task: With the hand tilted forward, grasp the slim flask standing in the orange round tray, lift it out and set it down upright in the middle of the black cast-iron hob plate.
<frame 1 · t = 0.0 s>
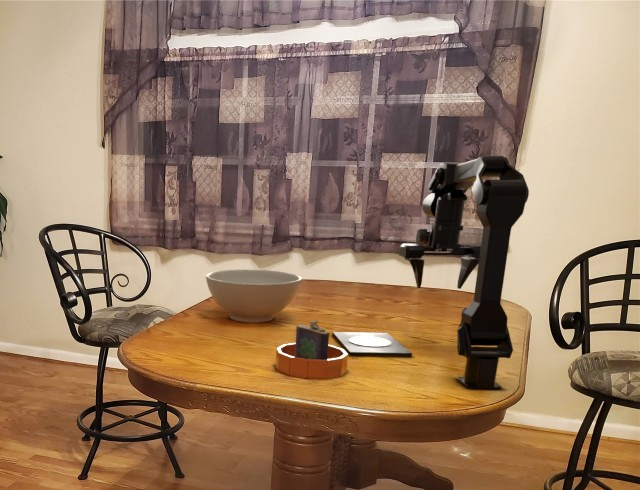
hand: (438, 288, 161), 15 cm above the counter, tool pointing down, fingers open, 9 cm apart
decorative bowl: (250, 318, 199), on the counter
hob plate: (369, 345, 168), on the counter
orange round tray: (310, 368, 150), on the counter
flask: (310, 369, 150), resting in orange round tray
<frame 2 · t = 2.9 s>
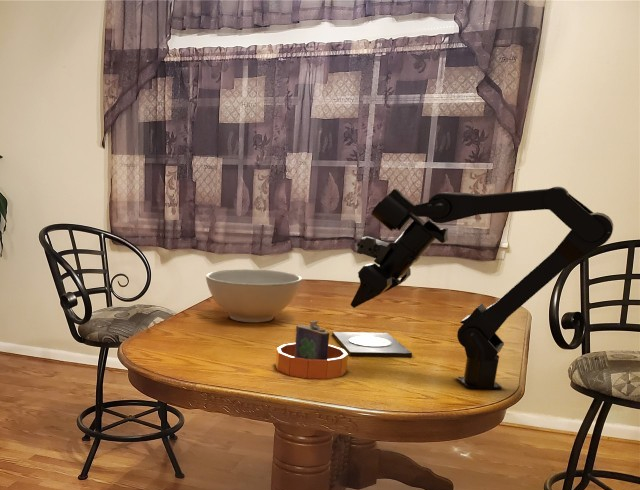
hand: (359, 302, 149), 14 cm above the counter, tool tilted 35°, fingers open, 9 cm apart
nothing on the counter moved.
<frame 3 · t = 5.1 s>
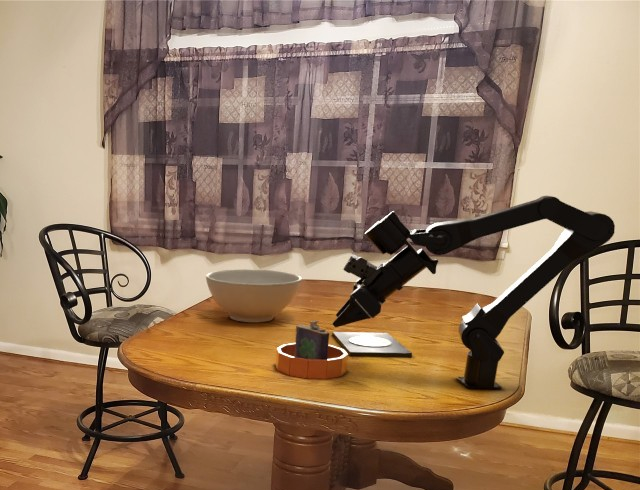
hand: (335, 321, 145), 11 cm above the counter, tool tilted 45°, fingers open, 9 cm apart
nothing on the counter moved.
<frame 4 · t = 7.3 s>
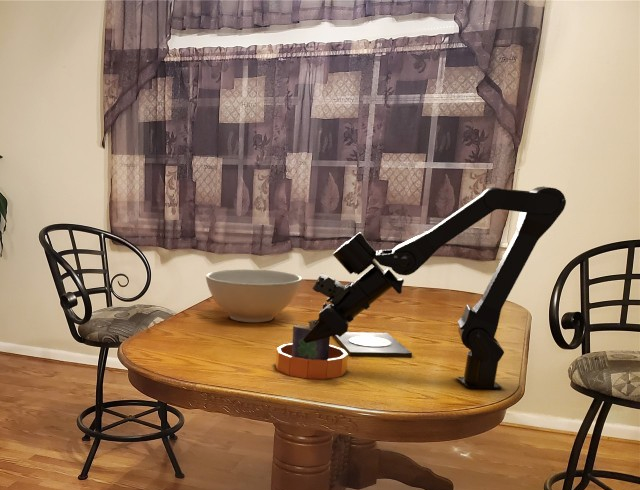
hand: (305, 338, 148), 7 cm above the counter, tool tilted 45°, fingers closed on flask, 5 cm apart
flask: (309, 368, 150), resting in orange round tray, touching gripper
everything else where it was.
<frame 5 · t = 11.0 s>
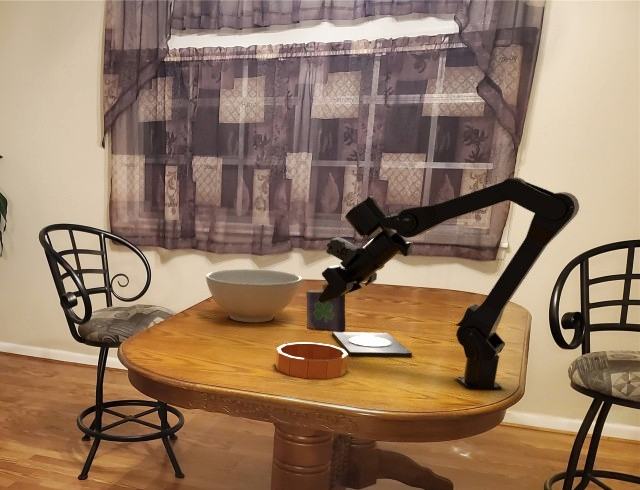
hand: (322, 299, 155), 13 cm above the counter, tool tilted 45°, fingers closed on flask, 3 cm apart
flask: (326, 331, 157), point 6 cm above the counter, touching gripper
everything else where it was.
when the fingers open (8 cm above the counter, at t = 15.0 s): flask stays where it is, resting on hob plate.
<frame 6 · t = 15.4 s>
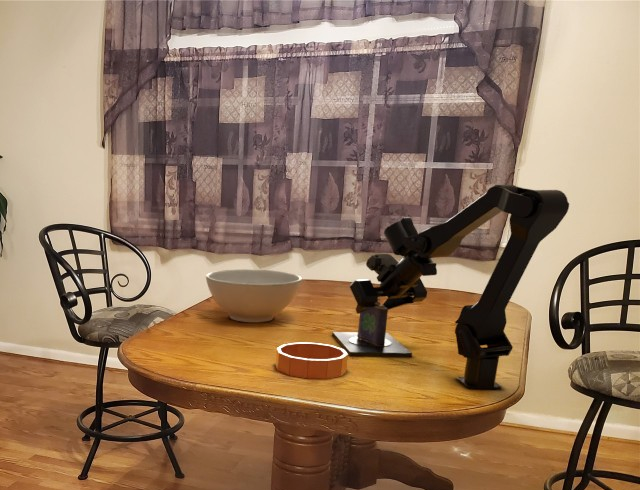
hand: (369, 310, 167), 8 cm above the counter, tool tilted 45°, fingers open, 7 cm apart
flask: (371, 342, 168), point 1 cm above the counter, touching hob plate
everything else where it was.
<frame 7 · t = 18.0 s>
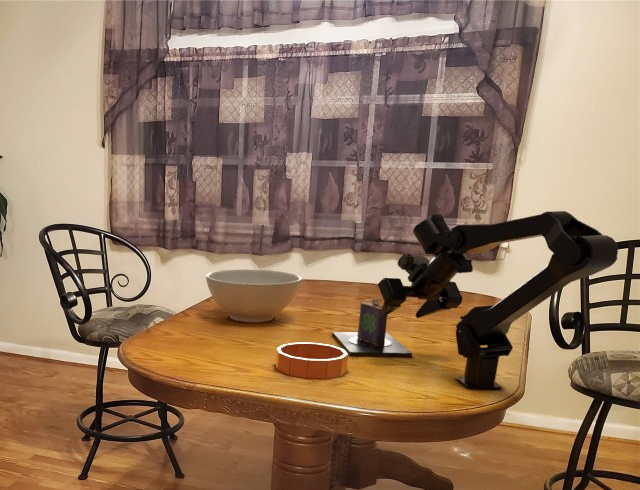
hand: (399, 315, 158), 9 cm above the counter, tool tilted 40°, fingers open, 9 cm apart
nothing on the counter moved.
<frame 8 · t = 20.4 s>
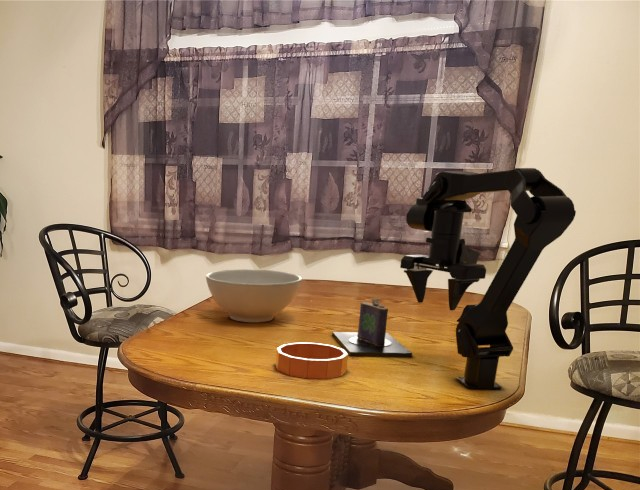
hand: (435, 306, 149), 13 cm above the counter, tool pointing down, fingers open, 9 cm apart
nothing on the counter moved.
at the end: flask inside the target area (0.3 cm from its centre), point 1.0 cm above the counter; flask tilted 0°; the gripper is holding nothing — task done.
